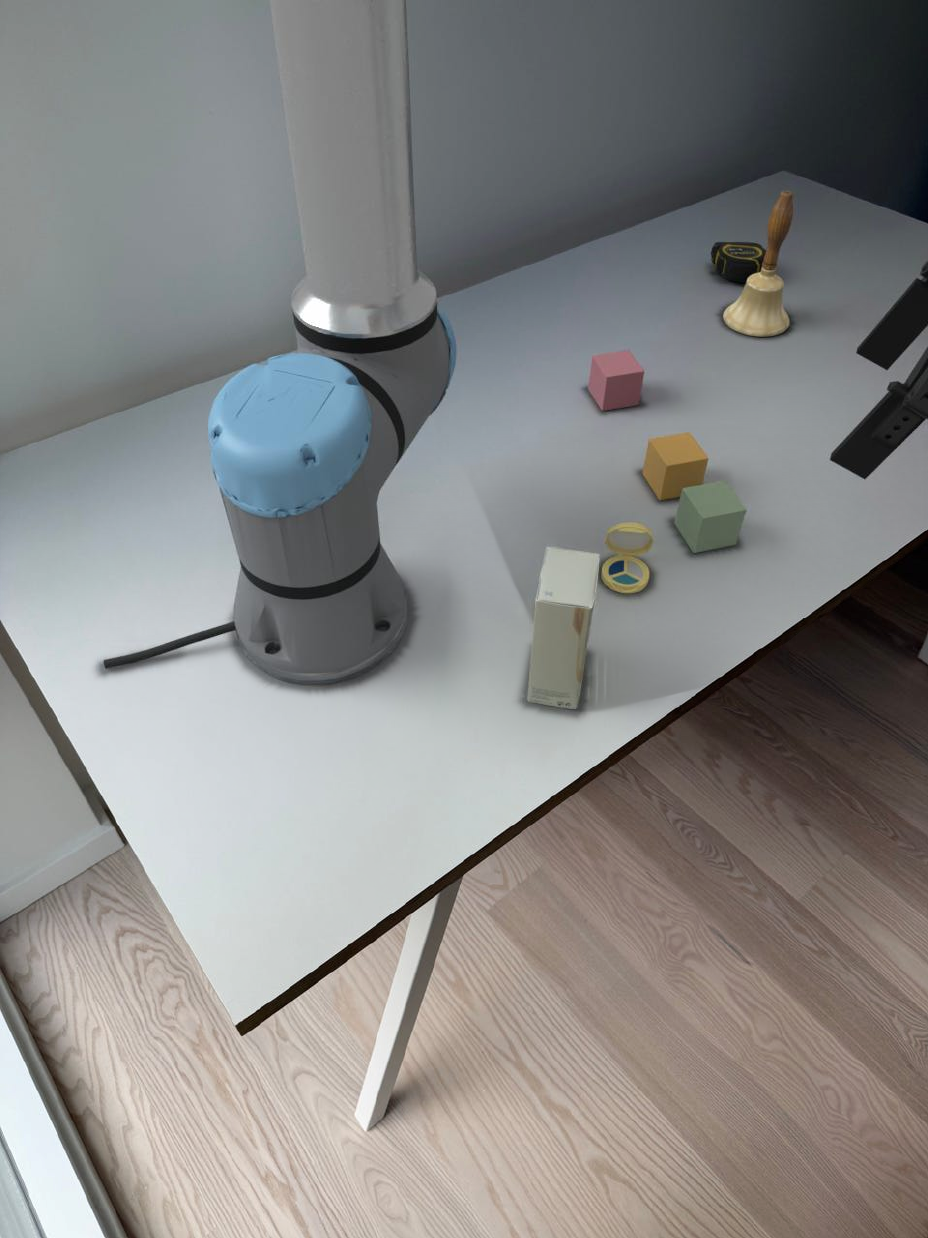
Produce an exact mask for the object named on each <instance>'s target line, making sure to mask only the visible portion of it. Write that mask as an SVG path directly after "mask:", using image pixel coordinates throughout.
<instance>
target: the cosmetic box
mask: <svg viewBox="0 0 928 1238" xmlns="http://www.w3.org/2000/svg"><path fill="white" fill-rule="evenodd" d="M544 551H545V552H544V555H543V559H542V565H541V570H540V574H539V581H538V585H537V590H536V596H535V600H534V601H535V603H534V611H533V612H534V613H533V624H532V635H531V638H532V639H531V648H530V660H529V661H530V662H529V673H528V683H527V684H528V685H527V697H526V701H527V702H528V703H533V704H540V705H544V706H550V707H556V708H562V709H571V710H577V709H578V707H579V700H580V696H581V691H582V683H583V677H584V670H585V665H586V657H587V653H588V652H587V651H588V646H589V638H590V631H591V626H592V619H593V612H594V607H595V601H596V595H597V588H598V580H599V570H600V561H601V559H600V558H601V554H600V553H596V552H588V551H582V550H576V549H569V548H563V547H556V546H550V545H549V546H546V547H545V550H544Z"/></svg>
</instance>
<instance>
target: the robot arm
mask: <svg viewBox="0 0 928 1238" xmlns="http://www.w3.org/2000/svg"><path fill="white" fill-rule="evenodd" d="M269 9H270V16H271V23H272V31H273V38H274V45H275V53H276V61H277V68H278V75H279V82H280V89H281V90H280V91H281V96H282V97H281V98H282V104H283V112H284V119H285V127H286V133H287V140H288V141H287V142H288V148H289V149H288V150H289V155H290V156H289V157H290V162H291V170H292V177H293V185H294V192H295V200H296V207H297V215H298V221H299V229H300V236H301V244H302V251H303V257H304V266H305V272H306V273H305V274H306V275H305V277H303V278H302V279H301V280H300V282H299V283H298V284H297V285H296V286H295V287H294V289H293V291H292V294H291V299H290V304H291V311H292V318H293V325H294V331H295V338H296V345H297V349H296V352H294V353H293V352H292V353H283V354H279V355H275V356H271V357H268V359H267V363H266V364H258V363H253V364H251V365H249V366H246V367H245V368H243V369H242V370H240V371H239V372H238V373H237V374H235V375H233V377H232V378H230V379H229V380H228V381H227V382H226V383H225V385H224V386H222V388H221V389H220V390H219V392H218V394H217V395H216V397H215V399H214V400H213V403H212V405H211V408H210V411H209V415H208V420H207V436H208V443H209V447H210V449H209V454H210V464H211V469H212V473H213V477H214V479H215V482H216V483H217V486H218V488H219V493H220V495H221V499H222V503H223V506H224V510H225V514H226V517H227V521H228V524H229V528H230V531H231V535H232V539H233V542H234V543H233V544H234V546H235V550H236V554H237V557H238V560H239V564H240V568H239V574H238V579H237V585H236V590H235V596H234V602H233V621H231V622H227V623H224V624H220V625H218V626H215V627H214V626H213V627H211V628H207V629H205V630H202V631H199V632H194V633H192V634H189V635H186V636H183V637H180V638H177V639H174V640H172V641H171V640H170V641H169V642H166V643H163V644H160V645H156V646H154V647H150V648H147V649H143V650H141V651H137V652H133V653H129V654H125V655H120V656H116V657H111V658H106V659H103V666H104V668H105V669H106V670H107V669H112V668H117V667H121V666H125V665H130V664H134V663H138V662H141V661H144V660H148V659H152V658H154V657H158V656H161V655H165V654H167V653H169V652H173V651H175V650H178V649H181V648H184V647H186V646H190V645H193V644H197V643H200V642H203V641H205V640H208V639H211V638H215V637H219V636H221V635H225V634H228V633H231V632H234V631H235V634H236V637H237V640H238V643H239V646H240V648H241V649H242V652H243V653H244V655H245V656H246V657H247V659H248V660H249V661H250V662H251V663H252V664H253V665H254V666H255V667H256V668H258V669H260V671H263V672H264V673H266V674H268V675H269V676H272V677H275V678H276V679H279V680H281V681H286V682H290V683H295V684H296V683H297V684H305V685H306V684H307V685H308V684H309V685H321V684H322V685H323V684H331V683H337V682H340V681H344V680H349V679H351V678H354V677H356V676H359V675H361V674H363V673H365V672H367V671H369V670H371V669H372V668H374V667H376V666H378V665H379V664H380V663H382V662H383V661H384V660H385V659H386V658H387V657H388V656H389V655H390V654H391V653H392V652H393V651H394V650H395V648H396V647H397V646H398V644H399V643H400V641H401V639H402V637H403V635H404V633H405V630H406V627H407V624H408V603H407V602H408V600H407V593H406V591H405V587H404V584H403V581H402V578H401V577H400V575H399V573H398V571H397V569H396V568H395V566H394V564H393V562H392V561H391V558H389V555H388V553H387V552H386V551H385V549H384V547H383V545H382V543H381V536H380V535H381V533H380V522H379V512H378V499H379V495H380V491H381V490H382V487H384V485H385V483H386V481H387V480H388V479H389V477H390V475H391V474H392V472H393V471H394V469H395V468H396V466H397V465H398V464H399V462H400V460H401V459H402V457H403V456H404V454H405V453H406V452H407V450H408V448H409V447H410V445H412V442H413V441H414V439H415V438H416V437H417V435H418V433H419V432H420V431H421V430H422V427H423V426H424V425H425V423H426V422H427V420H428V418H429V417H430V416H432V415H433V414H434V412H435V411H436V410H437V408H438V407H439V406H440V404H441V403H442V402H443V400H444V398H445V397H446V394H447V390H448V389H449V387H450V384H451V380H452V378H453V375H454V372H455V369H456V368H455V367H456V363H457V341H456V336H455V331H454V328H453V325H452V323H451V320H450V319H449V316H448V314H447V312H442V310H441V309H440V308H439V306H438V305H439V302H438V293H437V289H436V287H435V285H434V282H433V281H432V280H431V279H430V278H429V277H428V276H427V275H425V274H424V273H423V272H422V271H420V270H419V269H418V259H417V235H416V211H415V209H416V208H415V183H414V165H413V164H414V160H413V159H414V158H413V137H412V135H413V134H412V114H411V113H412V111H411V109H412V108H411V90H410V89H411V87H410V66H409V65H410V64H409V37H408V15H407V14H408V13H407V0H269ZM920 270H921V271H920V272H919V275H920V276H921V277H922V278H921V279H920V278H918V277H915V279H914V280H913V281H912V283H911V284H910V285H909V286H908V287H907V288H906V290H905V291H904V292H903V293H902V294H901V295H900V296H899V298H897V300H896V301H895V303H894V304H893V305H892V306H891V308H890V309H889V310H888V311H887V312H886V313H885V315H884V316H883V317H882V318H881V319H880V320H879V322H878V323H877V324H876V325H875V327H873V329H872V330H871V331H870V332H869V333H868V335H867V336H866V337H865V338H864V339H863V340H862V342H861V343H860V344H859V345H858V346H857V349H856V352H855V353H856V354H857V355H859V356H861V357H862V358H864V359H865V360H867V361H869V362H871V363H873V364H875V365H876V366H878V367H880V368H881V369H883V370H885V371H889V369H890V368H891V367H892V366H893V365H894V364H895V362H896V361H897V360H898V359H899V358H900V357H901V356H902V355H903V354H904V352H905V351H907V349H908V348H909V347H910V346H911V345H912V344H913V342H914V341H915V340H916V339H917V338H918V337H919V336H920V334H922V333H923V332H924V330H925V329H926V328H927V327H928V260H927V261H926V262H925V263H924V264H923V265H922V267H921V269H920ZM886 391H887V393H885V395H884V396H883V397H882V398H881V399H880V400H879V402H877V404H876V405H874V406H873V408H872V409H871V410H870V411H869V412H868V413H867V414H866V415H865V416H864V417H863V419H862V420H861V421H860V422H859V423H858V424H857V425H856V426H855V427H854V429H852V430H851V431H850V433H849V434H848V435H847V436H846V437H845V438H844V439H843V440H842V441H841V442H840V444H839V445H837V446H836V448H835V449H833V451H832V452H831V453H830V457H829V460H830V461H831V462H833V463H834V464H836V465H838V466H839V467H842V468H843V469H845V470H847V471H849V472H850V473H852V474H854V475H856V476H857V477H859V478H861V479H863V480H866V479H867V478H869V476H871V474H872V473H874V472H875V471H876V469H877V468H878V467H879V466H880V465H882V464H883V463H884V461H885V460H887V458H889V457H890V455H892V454H893V453H894V451H895V450H897V449H898V448H899V447H900V446H901V445H902V444H903V443H904V442H905V441H906V440H907V439H908V438H909V437H910V436H911V435H912V434H913V433H914V432H915V431H916V430H917V429H918V428H919V427H920V426H921V425H922V424H923V423H924V422H925V421H926V420H928V346H927V347H926V348H925V350H924V352H922V355H921V356H920V358H919V359H918V360H917V362H916V364H915V366H914V367H913V368H912V370H911V372H910V373H909V375H908V376H907V377H906V380H905V381H904V382H903V383H902V382H900V381H898V380H895V381H890V382H889V383H888V385H887V388H886Z"/></svg>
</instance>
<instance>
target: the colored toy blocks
mask: <svg viewBox="0 0 928 1238" xmlns="http://www.w3.org/2000/svg"><path fill="white" fill-rule="evenodd" d="M644 377H645V369H644V368H643V367H642V365H641V364H640V363H639V361H638V360H637V359H636V358H635V356H634V355H633V353H632V352H631V350H630V349H626V350H621V351H614V352H613V351H612V352H607V353H601V354H600V353H599V354H593V355H592V356H591V363H590V371H589V378H588V381H589V382H588V386H587V387H588V388H587V390H588V392H589V393H590V395H591V396H592V398H593V400H594V401H595V402H596V404H597V405H598V407H599V408H600V410H601V412H606V411H611V410H617V409H623V408H630V407H635V406H639V404H640V399H641V393H642V388H643V382H644ZM643 462H644V463H643V468H642V475H643V477H644V478H645V480H646V482H647V484H648V485H649V486H650V488H651V489H652V491H653V492H654V494H655V496H656V497H657V499H658V500H659V501H666V500H670V499H675V498H679V502H678V506H677V510H676V513H675V516H674V517H675V518H674V522H673V524H674V525H675V527H676V529H677V530H678V532H679V533H680V535H681V536H682V538H683V539H684V541H685V542H686V544H687V545H688V547H689V549H690V550H691V552H692V553H693V554H697V553H702V552H706V551H708V552H709V551H713V550H717V549H722V548H727V547H732V546H735V545H737V542H738V539H739V536H740V533H741V530H742V527H743V523H744V520H745V518H746V517H745V516H746V513H747V508H746V507H745V506H744V503H742V501H741V500H740V499H739V497H738V496H737V494H736V493H735V492H734V490H733V489H732V488H731V487H730V485H729V484H728V482H727V481H726V480H724V479H723V480H719V481H713V482H709V483H704V484H703V482H704V479H705V473H706V470H707V466H708V462H709V456H708V455H707V454H706V453H705V451H704V450H703V448H701V446H700V444H699V443H698V441H697V440H696V439H695V437H694V436H693V435H692V434H691V432H690V431H687V432H682V433H675V434H670V435H664V436H659V437H653V438H649V439H648V441H647V447H646V451H645V457H644V461H643Z"/></svg>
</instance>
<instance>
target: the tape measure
mask: <svg viewBox="0 0 928 1238" xmlns="http://www.w3.org/2000/svg"><path fill="white" fill-rule="evenodd" d="M766 250H767V249H766V248H764V247H763V245H762V244H760V243H757V242H751V241H749V242H748V241H716V242H715V243H714V244H713V246H711V251H710V257H711V263H712V264H713V265H714V270H715V272H716V274H717V275H718V276H719V277H721V278H723V279H725V280H728V281H732V282H739V283H744V282H745V283H746V282H747V279H748V278H749V276H751V275H752V274H755V273H759V272H761V269H762V263H763V261H764V256H765V253H766Z"/></svg>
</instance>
